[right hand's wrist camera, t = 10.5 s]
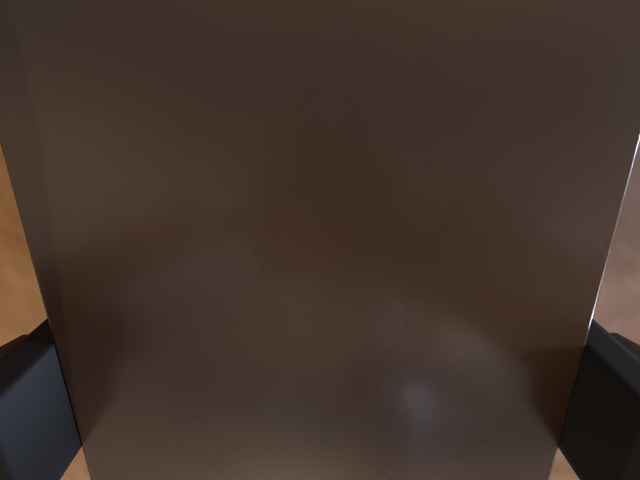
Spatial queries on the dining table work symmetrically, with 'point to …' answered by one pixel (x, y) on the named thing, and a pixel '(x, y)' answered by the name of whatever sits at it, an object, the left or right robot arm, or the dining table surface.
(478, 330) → the cabinet
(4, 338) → the dining table surface
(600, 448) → the right robot arm
